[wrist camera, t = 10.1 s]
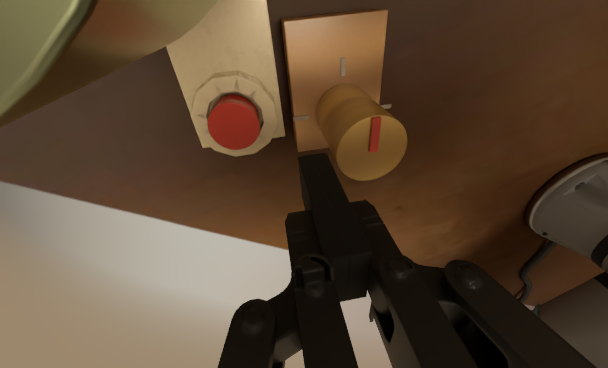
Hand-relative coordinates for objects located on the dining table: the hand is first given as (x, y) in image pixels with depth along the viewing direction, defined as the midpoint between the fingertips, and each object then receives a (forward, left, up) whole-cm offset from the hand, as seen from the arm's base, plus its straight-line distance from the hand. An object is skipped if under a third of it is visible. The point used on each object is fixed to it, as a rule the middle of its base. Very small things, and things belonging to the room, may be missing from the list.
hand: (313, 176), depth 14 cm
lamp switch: (0, +5, -10) cm, 11 cm away
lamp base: (+5, +5, -14) cm, 15 cm away
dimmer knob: (-1, -5, -11) cm, 12 cm away
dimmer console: (+1, -4, -14) cm, 14 cm away
